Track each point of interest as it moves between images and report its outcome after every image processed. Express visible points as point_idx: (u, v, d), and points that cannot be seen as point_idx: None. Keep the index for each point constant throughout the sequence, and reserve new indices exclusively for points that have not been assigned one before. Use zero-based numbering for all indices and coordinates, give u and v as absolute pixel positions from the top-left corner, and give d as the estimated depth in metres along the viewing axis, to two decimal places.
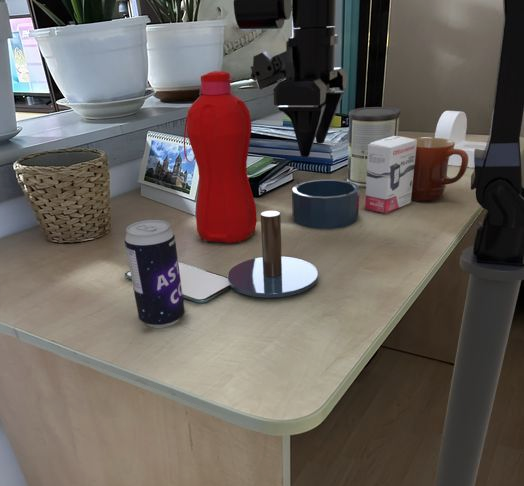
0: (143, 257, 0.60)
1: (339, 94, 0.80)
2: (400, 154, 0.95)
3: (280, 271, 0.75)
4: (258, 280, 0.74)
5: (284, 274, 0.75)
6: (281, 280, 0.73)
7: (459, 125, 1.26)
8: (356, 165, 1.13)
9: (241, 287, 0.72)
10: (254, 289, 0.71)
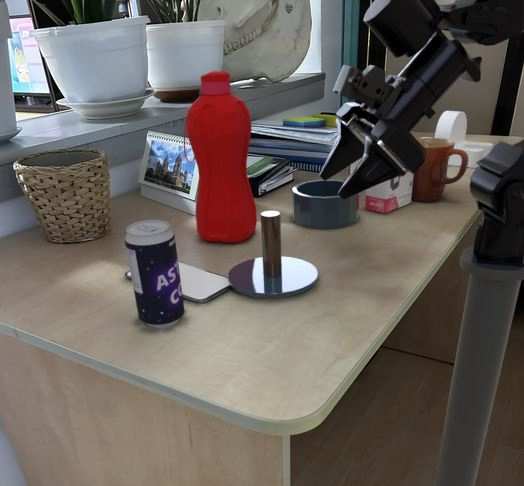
0: (143, 257, 0.60)
1: None
2: None
3: (280, 271, 0.75)
4: (258, 280, 0.74)
5: (284, 274, 0.75)
6: (281, 280, 0.73)
7: (459, 125, 1.26)
8: (356, 165, 1.13)
9: (241, 287, 0.72)
10: (254, 289, 0.71)
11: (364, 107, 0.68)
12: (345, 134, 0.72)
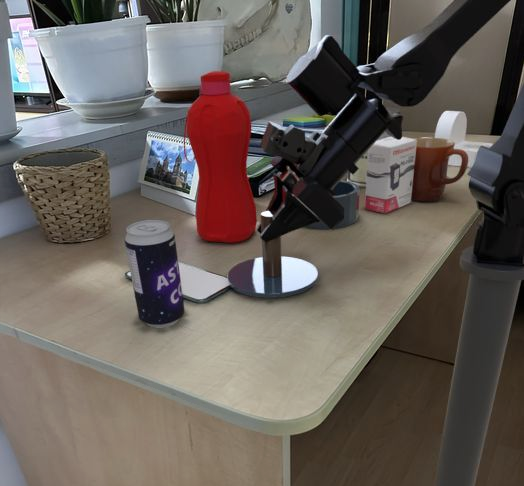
0: (143, 257, 0.60)
1: None
2: (400, 154, 0.95)
3: (280, 271, 0.75)
4: (258, 280, 0.74)
5: (284, 274, 0.75)
6: (281, 280, 0.73)
7: (459, 125, 1.26)
8: (356, 165, 1.13)
9: (241, 287, 0.72)
10: (254, 289, 0.71)
11: None
12: (281, 189, 0.71)
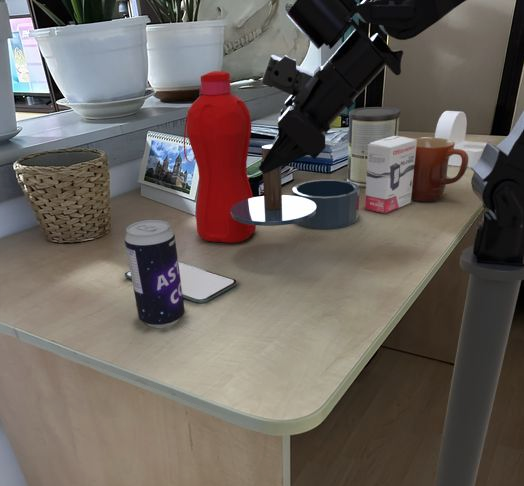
0: (143, 257, 0.60)
1: None
2: (400, 154, 0.95)
3: (279, 205, 0.78)
4: (256, 211, 0.78)
5: (283, 208, 0.78)
6: (277, 213, 0.77)
7: (459, 125, 1.26)
8: (356, 165, 1.13)
9: (237, 215, 0.77)
10: (248, 217, 0.76)
11: (295, 95, 0.73)
12: None
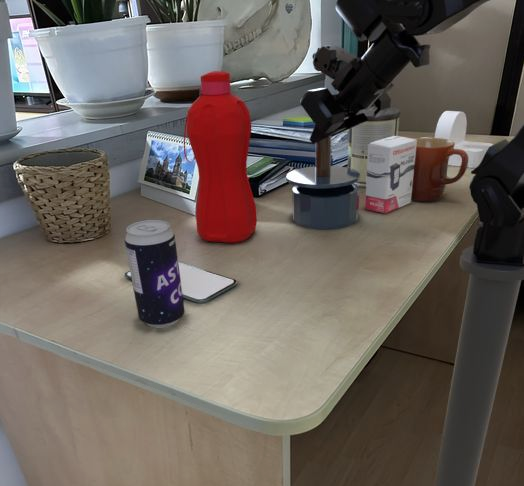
0: (143, 257, 0.60)
1: (358, 122, 0.87)
2: (400, 154, 0.95)
3: (324, 173, 0.92)
4: (306, 175, 0.94)
5: (327, 176, 0.92)
6: (317, 178, 0.91)
7: (459, 125, 1.26)
8: (356, 165, 1.13)
9: (288, 175, 0.94)
10: (292, 178, 0.92)
11: None
12: None
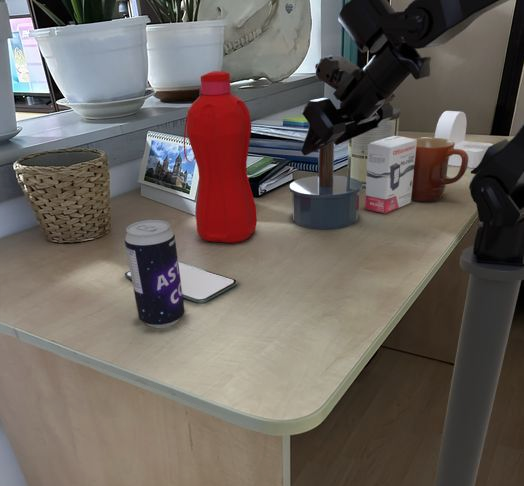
0: (143, 257, 0.60)
1: (370, 128, 0.90)
2: (400, 154, 0.95)
3: (327, 183, 0.94)
4: (309, 185, 0.95)
5: (330, 186, 0.94)
6: (320, 188, 0.93)
7: (459, 125, 1.26)
8: (356, 165, 1.13)
9: (292, 185, 0.96)
10: (295, 188, 0.94)
11: None
12: None
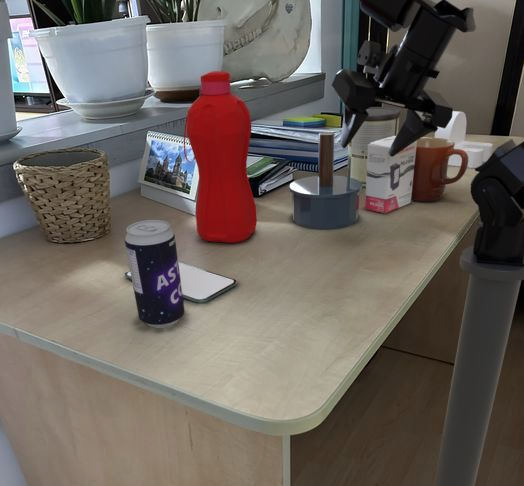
0: (143, 257, 0.60)
1: (423, 126, 0.81)
2: (400, 154, 0.95)
3: (327, 183, 0.94)
4: (309, 185, 0.95)
5: (330, 186, 0.94)
6: (320, 188, 0.93)
7: (459, 125, 1.26)
8: (356, 165, 1.13)
9: (292, 185, 0.96)
10: (295, 188, 0.94)
11: None
12: (408, 115, 0.84)
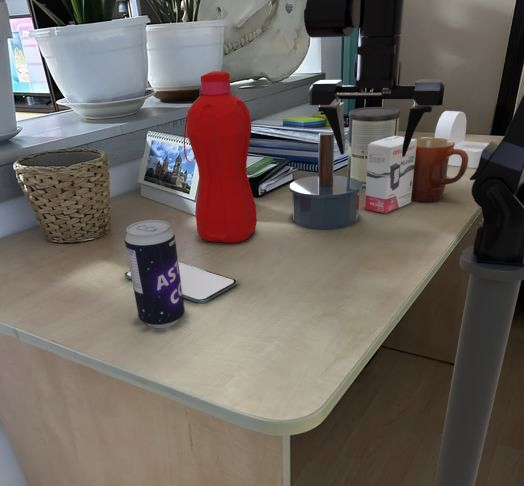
0: (143, 257, 0.60)
1: (410, 109, 0.75)
2: (400, 154, 0.95)
3: (327, 183, 0.94)
4: (309, 185, 0.95)
5: (330, 186, 0.94)
6: (320, 188, 0.93)
7: (458, 125, 1.26)
8: (356, 165, 1.13)
9: (292, 185, 0.96)
10: (295, 188, 0.94)
11: None
12: None
